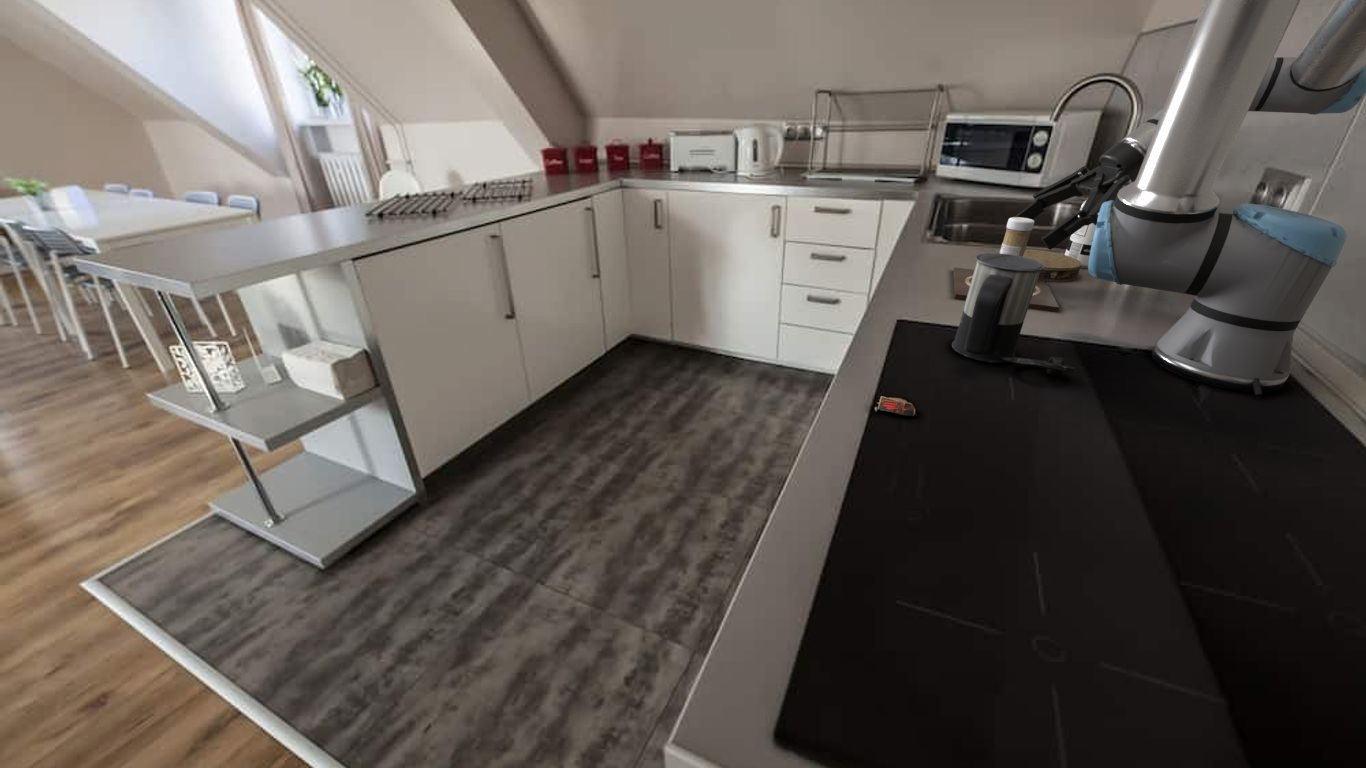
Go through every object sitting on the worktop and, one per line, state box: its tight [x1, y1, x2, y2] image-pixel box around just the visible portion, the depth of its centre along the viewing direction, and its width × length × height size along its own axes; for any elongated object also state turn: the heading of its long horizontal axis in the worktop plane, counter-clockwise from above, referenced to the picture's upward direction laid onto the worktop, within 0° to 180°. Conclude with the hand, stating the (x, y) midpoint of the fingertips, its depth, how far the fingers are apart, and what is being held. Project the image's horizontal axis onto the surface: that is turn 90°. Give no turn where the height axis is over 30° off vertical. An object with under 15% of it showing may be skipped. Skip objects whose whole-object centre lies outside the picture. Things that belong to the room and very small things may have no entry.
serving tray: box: [952, 267, 1060, 313], centre depth 116 cm, size 20×18×1 cm
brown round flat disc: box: [1023, 248, 1081, 283], centre depth 128 cm, size 16×16×3 cm
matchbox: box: [874, 395, 916, 417], centre depth 73 cm, size 5×5×1 cm
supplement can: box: [1064, 200, 1099, 269], centre depth 131 cm, size 8×8×15 cm
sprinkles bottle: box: [999, 216, 1035, 257], centre depth 113 cm, size 5×5×14 cm
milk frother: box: [951, 252, 1076, 376], centre depth 83 cm, size 14×16×15 cm
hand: (1026, 235), depth 111 cm, fingers open, 13 cm apart
